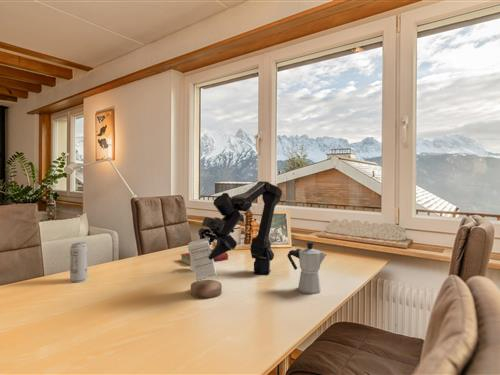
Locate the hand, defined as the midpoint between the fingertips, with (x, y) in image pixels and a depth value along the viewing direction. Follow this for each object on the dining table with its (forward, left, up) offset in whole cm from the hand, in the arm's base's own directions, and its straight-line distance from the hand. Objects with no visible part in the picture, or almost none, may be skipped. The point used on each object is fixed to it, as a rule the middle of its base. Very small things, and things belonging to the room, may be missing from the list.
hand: (202, 256), depth 112 cm
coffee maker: (-36, -14, -14) cm, 41 cm away
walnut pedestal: (-1, -1, -13) cm, 13 cm away
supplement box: (-1, -1, -7) cm, 7 cm away
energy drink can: (+53, -1, -14) cm, 54 cm away
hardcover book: (+16, -44, -14) cm, 49 cm away
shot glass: (+13, -27, -14) cm, 33 cm away
